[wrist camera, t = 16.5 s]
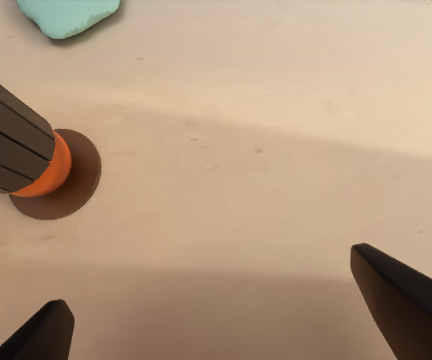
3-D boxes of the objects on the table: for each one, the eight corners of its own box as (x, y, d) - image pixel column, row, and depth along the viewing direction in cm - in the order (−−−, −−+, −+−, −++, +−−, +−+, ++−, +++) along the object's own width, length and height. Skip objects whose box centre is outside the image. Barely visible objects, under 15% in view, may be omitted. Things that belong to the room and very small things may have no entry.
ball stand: (102, 212, 24) (59, 194, 19) (7, 226, 25) (-64, 213, 19) (100, 124, 27) (61, 84, 21) (13, 138, 27) (-48, 103, 21)
